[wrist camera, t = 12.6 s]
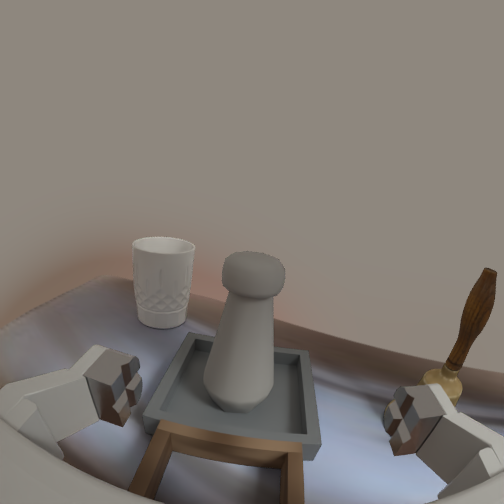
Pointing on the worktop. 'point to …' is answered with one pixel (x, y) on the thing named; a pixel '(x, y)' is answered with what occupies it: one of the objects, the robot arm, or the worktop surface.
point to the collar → (220, 457)
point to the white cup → (162, 280)
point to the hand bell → (465, 336)
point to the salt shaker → (245, 333)
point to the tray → (248, 425)
